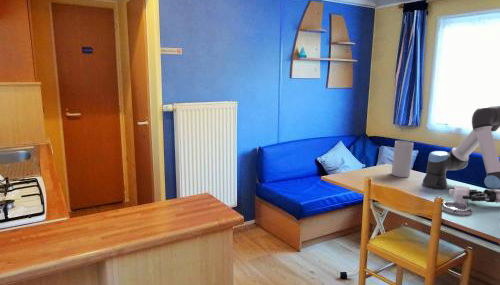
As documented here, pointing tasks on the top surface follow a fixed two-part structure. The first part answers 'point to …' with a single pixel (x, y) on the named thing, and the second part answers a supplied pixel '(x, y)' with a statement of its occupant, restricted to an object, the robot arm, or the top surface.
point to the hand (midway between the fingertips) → (452, 194)
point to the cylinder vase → (402, 158)
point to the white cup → (461, 191)
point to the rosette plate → (456, 209)
